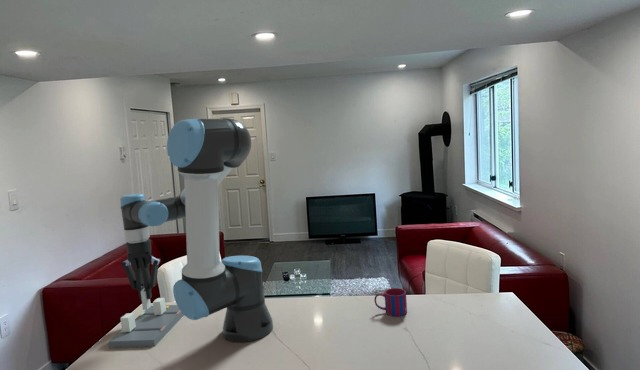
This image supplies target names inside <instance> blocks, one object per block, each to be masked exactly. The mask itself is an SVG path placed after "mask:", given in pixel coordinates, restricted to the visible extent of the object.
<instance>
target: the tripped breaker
mask: <svg viewBox="0 0 640 370" xmlns="http://www.w3.org/2000/svg"><path fill="white" fill-rule="evenodd" d="M166 305H167V304H166V299H165V297H158V298H156V299H154V301H153V302H152V306H153V308H154V315H162V314H163V313H164V312H165V311H166Z"/></svg>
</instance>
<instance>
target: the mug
mask: <svg viewBox="0 0 640 370" xmlns="http://www.w3.org/2000/svg"><path fill="white" fill-rule="evenodd" d="M379 296H382V297H384V305H385V307H383V306H380V305H379V304H378V303H377V297H379ZM374 304H375V306H376V307H377V308H378V309H380V310H382V311H385V314H386V315H387V316H390V317H393V318H394V317H395V318H397V317H404V316H405V315H407V314H408V306H407V305H408V304H407V291H406V290H405V289H403V288H399V287H393V288H392V287H391V288H388V289H386V290H385V291H384V293H377V294H375V296H374Z"/></svg>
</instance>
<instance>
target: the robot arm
mask: <svg viewBox="0 0 640 370" xmlns="http://www.w3.org/2000/svg"><path fill="white" fill-rule="evenodd" d="M251 149H252V137H251V135H250V132H249V130H248V129H247V127H246V126H245V125H244V124H243V123H242V122H240V121H238V120H237V119H234V118H231V117H230V118H227V117H223V118H196V117H195V118H189V119H181V120H179V121H177V122H176V123H175V124H174V125H173V126H172V128H171V129H170V131H169V133H168V137H167V141H166V150H167V155H168V157H169V161H170V163H171V164H172V165H173V166H174V167H177V173H179V175H181V176H182V177H183V181H184V182H183V183H184V188H183V189H182V190H181V192H180V193H179V195H177V196H172V197H166V198H161V199H155V200H149V201H147V200H146V198H145V195H144V194H143V193H132V194H125V195H122V196H121V197H120V201H119V202H120V210H121V211H120V212H121V216H122V223H123V231H124V239H125V240H124V241H125V242H126V243H125V247H126V252H127V258H126V259H125V260H124V261H122V262H121V263H120V265H121V267H123V269H124V272H125V274H126V276H127V279H128V281H129V284H130V287H131V289H132V290H137V293H138V299H139V300H140V301H141V304H142V310H143V311H145V310H147V309H148V308H150V307H151V306H152V303H151V298H153V295H152V289H153V288H154V287H156V286H157V283H158V282H157V280H158V272H159V264H160V263H161V258H159V257H158V258H156V257H154V254H153V253H152V243H151V239H150V237H151V235H150V228H149V227H158V226H161V225H163V224H164V223H167V222H171V221H175V220H181V219H185V236H186V237H185V238H186V240H185V241H186V264H185V265H184V266H183V267H182V268H181V279H178V280H177V281H175V283H174V284H173V288H172V294H173V298H174V302H175V303H176V304H175V305H177V306H178V307H179V309H180V311H181V312H182V313H183V314H184V317H186V318H187V319H189V320H191V321H197V320H200V319H203V318H207V317H209V316H210V315H213V314H215V313H217V312H219V311H222V310H224V309H226V310H225V316H224V320H223V324H222V334H223V337H224V338H225V339H227V340H228V341H231V342H238V343H245V342H251V341H252V342H253V341H256V340H259V339H261V338H264V337H266V336H267V335H268V334H270V333H271V332H272V331H273V329H274V323H273V322H274V321H273V318H272V316H271V313H270V311H269V309H268V307H267V305H266V300H265V298H266V297H265V290H264V289H265V288H264V278H263V277H264V276H263V268H262V262H261V260H260V259H259V258H258V257H256V256H251V255H232V256H231V255H229V256H226V257H224V258H222V259H221V261H220V256H221V255H220V215H219V214H220V213H219V212H220V210H219V206H220V205H219V201H220V199H219V185H220V184H221V182H223V180H224V179H225V178H226V177H227V176H228V175H229V174H230V172H231V171H232V170H233V169H238V168H239V167H240V166H241V165H242V164H243V163H244V162H245V160H246V159H247V158H248V156H249V154H250V152H251ZM150 264H151V266H150ZM150 267H151V269H150ZM150 270H151V271H150Z"/></svg>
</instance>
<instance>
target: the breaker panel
mask: <svg viewBox="0 0 640 370" xmlns="http://www.w3.org/2000/svg"><path fill="white" fill-rule="evenodd" d="M165 305H166V311H165V312H164V313H163V314H162V315H154V308H153V305H151V307H150V308H148V309H147V310H143V312H142V313H140V314H139V315H138V316H137V317H135V324H136V327H135V328H134V329H133V330H131V331H130V332H122V329H121V330H120V331H119V332H118V333H117V334H116V335H114V336H113V337H112V338H111V339H110V340H108V344H109V348H111V349H113V348H114V349H115V348H142V347H143V348H144V347H156V346H157V345H158V344H159V342H161V340H162V339H163V338H164V337H165V336H166V335H167V334H168V333H169V332H170V331H171V330H172V328H174V327H175V325H176V324H177V323H178V322H179V321H180V320H181V319H182V318H183V317H185V315H184V314H183V313H182V312H181V311H180V309H179V307H178V306H177V304H168V305H167V304H165Z"/></svg>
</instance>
